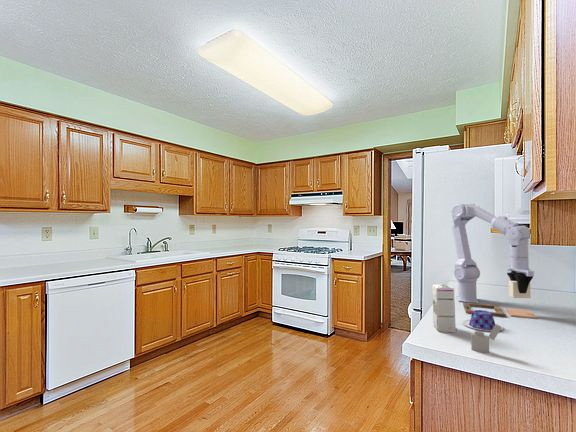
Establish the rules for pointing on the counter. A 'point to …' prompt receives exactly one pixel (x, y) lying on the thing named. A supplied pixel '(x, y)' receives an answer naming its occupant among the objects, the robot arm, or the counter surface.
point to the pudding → (481, 320)
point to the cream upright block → (517, 291)
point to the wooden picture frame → (498, 310)
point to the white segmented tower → (444, 308)
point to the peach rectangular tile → (520, 313)
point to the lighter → (483, 339)
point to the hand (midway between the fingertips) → (520, 292)
